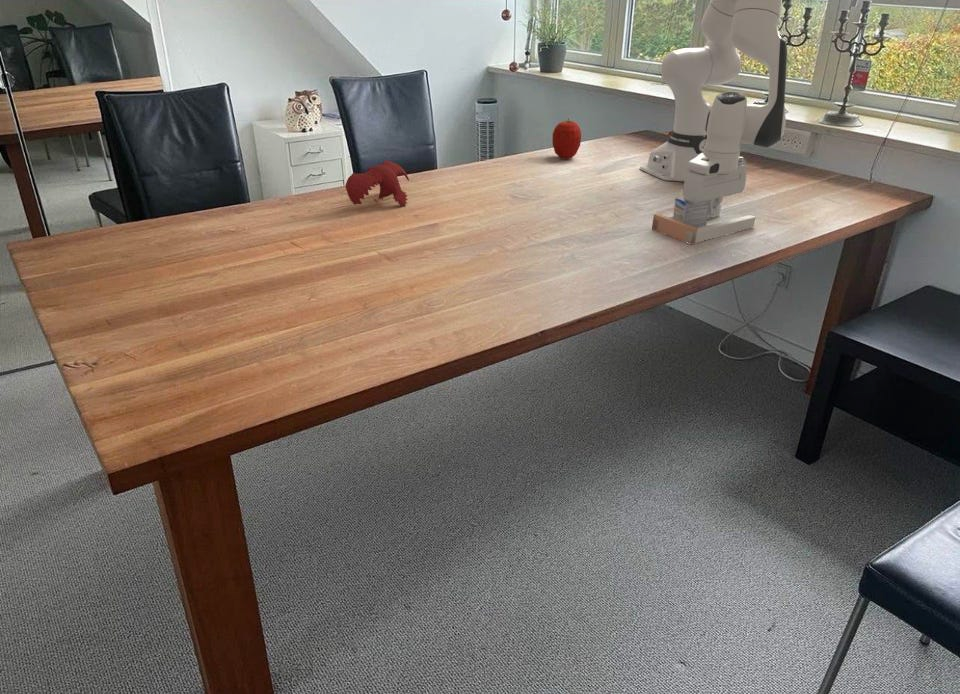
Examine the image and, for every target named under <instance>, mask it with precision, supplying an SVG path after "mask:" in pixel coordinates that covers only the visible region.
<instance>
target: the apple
mask: <svg viewBox="0 0 960 694" xmlns="http://www.w3.org/2000/svg"><path fill="white" fill-rule="evenodd" d="M581 131H582V130H581V128H580V126H579V124H578V123H577V122H574V121H572V120H570V118H567V120H564V121H561V122H559V123H558V124H557V125H556V126H555V127H554V129H553V131H552V147H553V150H554V153H555V155H557V156H558V158H559V159H563V160H571V159H573V158H574V156H576V154H577V153H578V151H579V149H580V147H581V142H582V132H581Z"/></svg>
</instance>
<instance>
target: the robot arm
mask: <svg viewBox="0 0 960 694" xmlns="http://www.w3.org/2000/svg"><path fill="white" fill-rule="evenodd" d="M786 1H787V0H710V1H709V3H708V5H707V8H706V9H705V12H704V14H703V17H702V19H701V22H700V31H701V34H702V36H703V37H704V38H705V39H706V40H707V41H706V43H705V45H704V46H703V47H682V48H679V49H675V50H672V51H669V52H667V54H665V55H664V58H663V59H662V62H661V65H660V75H661V78H662V81H664V83H665V85H667V86H668V87H669V88H670V90H671V92H672V95H673V98H674V102H675V103H674V104H675V105H674V106H675V112H674V113H675V114H674V120H673V121H674V123H673V129H672V130H671V131H666V132H665V136H668V138H667V140H666V141H665V142H664V143H663V144H661V145H659V146H657V147H656V148H654V149H653V150H652V151H651V152H650V153H649V157H648V159H647V160H648V161H647V163H643V164H641V165H640V167H639V170H641V171H643V172H645V173H647V174H650V175H652V176H653V177H656V178H658V179H660V180H663V181H674V182H675V181H677V182H684V185H683V192H682V197H683V198H684V200H685V201H687V202H690V203H693V204H695V203H699V202H703V201H708V200H710V204H709V210H708V215H712V214H716V213H717V210H718V207H719V205H722V202H723V198H724V197H728V196H732V195H736V194H737V195H738V194H741V193H743V191H744V190H745V187H746V183H747V167H746V165H747V160H746V159H745V158H744V156H740V155H741V144H748V145H754V146H757V147H762V148H769V147H772V146H774V145H775V144H777V143H778V142H780V141H781V140H782V138H783V136H784V133H785V131H786V127H787V126H786V125H787V120H786V111H785V99H786V85H787V68H788V64H787V63H788V46H787V41H786V39H784V38H783V37H782V36H781V35H780V32H779V20H780V14H781V11H782V5H783V3H784V2H786ZM738 51H739V52H740V53H742V54H743V55H745V56H747V57H749V58H751V59H753V60H755V61H758V62H759V63H761V64H762V65H764V66H765V67H766V68H767V71H768V72H769V73H768V74H769V79H768V80H769V81H768V96H767V97H768V99H767V102H766V103H764V104H754V103H748V98H747V96H746V95H745V94H744V93H740V92H736V91H727V92H721V93H718V94H717V95H716V96H714V99H713V102H712V104H710V102H708V101H707V100H706V99H705V98H703V91H702V87H708V86H709V87H711V86H712V87H713V86H721V85H725V84H727V83H730V82H733V81H735V80H736V78H738V75H739V74H740V72H741V67H742V60H741V55H740V53H739V52H738Z"/></svg>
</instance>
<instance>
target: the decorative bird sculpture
mask: <svg viewBox="0 0 960 694" xmlns="http://www.w3.org/2000/svg"><path fill="white" fill-rule="evenodd" d="M400 175H401V176H402V175H403V176H405V178H406V180H407V181H408V182H409V181H410V179H409V177H408V174H407V172H406V170H404V168H402V166H400V165H399V164H397V163H395V162H392V161H390V160H384V161H382V164H379V165H375V166H371V167H368V168H367V169H366V172H363V173H356V172H354V173H351V174H350V176H349V177H348V178H347V180H346V182H345V190H346V192H347V196H348V198H349V199H350V202H351V203H352V204H353V205H361V204H362V203H363V202H362V201H361V200H364V199H365V195H366V196H369V195H370V193H369V191H373V190H372V188H376V186H379V194H378V198H377V199H376V198H375V199H374V198H373V200H372V201H373V202H376V203H378V200H380V199H381V200H382V201H383V200H384V198H386V197H389V196H391V195H393V198H392V200H394V201H395V203H398V205H400V207H406V205H407V204H408V203H407V201H408V198H407V197H408V194H407V192H405V191H403V190H402V187H401V185H400V181H399V179H398V178H399V177H398V176H400Z"/></svg>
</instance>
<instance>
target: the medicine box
mask: <svg viewBox="0 0 960 694" xmlns="http://www.w3.org/2000/svg"><path fill="white" fill-rule="evenodd" d="M709 204H710V200H708V201H703V202H699V203H695V204H693V203H690V202H687V201H685V200H684V198H683V196H680V197H676V198H675V199H674V206H673V207H674V208H673V213H674V214H673V219H675V220H677V221H680V222H683V223H685V224H688V225H691V226H693V227H696V228H699V227H703V226H707V224H708V223H707V222H708V219H707V216H708V210H709Z"/></svg>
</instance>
